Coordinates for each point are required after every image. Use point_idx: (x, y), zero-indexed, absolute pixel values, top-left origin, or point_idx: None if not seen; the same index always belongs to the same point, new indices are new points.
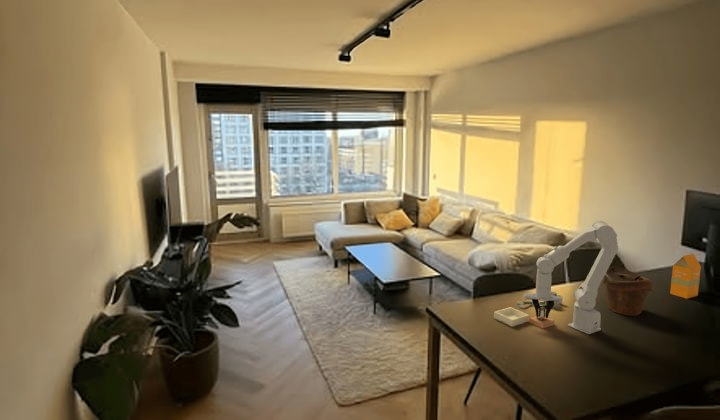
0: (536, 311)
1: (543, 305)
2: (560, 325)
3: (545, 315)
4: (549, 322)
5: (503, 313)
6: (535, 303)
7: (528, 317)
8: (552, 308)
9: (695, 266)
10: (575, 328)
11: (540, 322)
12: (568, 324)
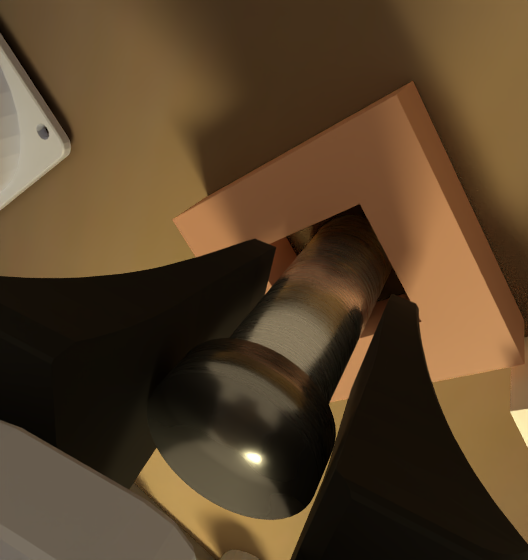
0: (418, 367)
1: (205, 444)
2: (146, 168)
3: None
4: (260, 170)
5: None
6: (470, 548)
7: (524, 379)
8: (134, 488)
9: None
10: (7, 48)
11: (416, 166)
12: (58, 151)
